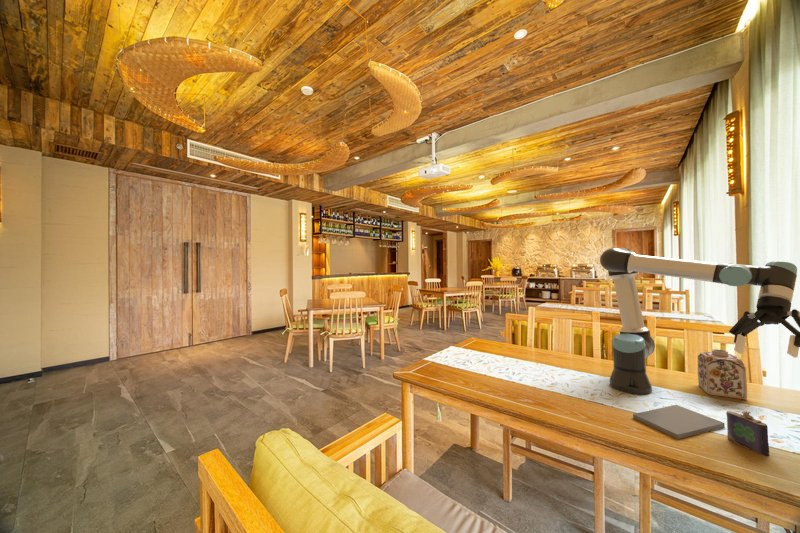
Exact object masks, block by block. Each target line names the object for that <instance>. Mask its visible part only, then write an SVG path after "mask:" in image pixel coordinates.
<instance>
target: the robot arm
mask: <svg viewBox="0 0 800 533" xmlns="http://www.w3.org/2000/svg"><path fill="white" fill-rule="evenodd" d="M599 258H600V259H599V263H600V265H601V267H602V268H603V269H605V270H606V271H608V272H607V274H608V277H609V278H610V279H613V280H612V281H613V285H614V290H615V297H616V300H617V304H618V311H619V316H620V320H621V328H620V329H619V333H618V334H616V335H614V336H613V337H612V341H611V342H612V344H611V346H612V358H613V370H612V372H611V375H610V377H609V386H611V387H612V388H614V389H615V390H618V391H621V392H624V393H628V394H635V395H649V394H652V392H653V387H652V384H651V382H650V379H649V376H648V375H647V369H646V368H647V364H646V359H647V358H648V357H650V356H651V355H652V354H654V351H655V348H656V344H655V340H654V339H653V337H652V336H651V331H650V328H648V327H647V326H645V323H644V322H645V321H644V317H643V312H642V307H641V302H640V298H639V296H640V295H639V292H638V287H637V283H636V278H635V277H637V275H638V274H639V273H645V274H649V275H650V274H651V275H659V276H663V277H664V276H665V277H672V278H679V279H680V278H681V279H686V280H687V279H688V280H693V281H694V280H695V281H701V282H702V281H703V282H708V283H709V282H710V283H715V284H721V285H727V286H730V287H742V286H745V285H749V286H757V287H760V289H759V293H758V297H757V301H756V306H755V307H756V311H755V312H749V311H748V310H746V311H744V312H743V315H742V316H741V318H740V319H738V321H737V322H736V323H734V325H733V326H732V328H730V329H729V330H728V332H729V333H730V334H732V335H733V336H734V340H733V343H734V344H735V345H734V348H733V350H734V351H735V352H737V353H738V354H739V355H740V354H741V355H743V354H744V349H745V345H746V343H747V337H746V336H748V335H749V334H750V333H752V332H753V331H754V330H756V329H758V328H759V327H763V326H764V325H779V324H782V326H784V327H785V328H786V329H787V330H788V331H790V332H791V333H792V334H790V336H789V339H788V346H787V351H786V354H788V355H789V356H791V357H793V358H798V357H799V350H800V331H799V330H798V329H797V328H796V327H795V326H793V324H791V323H790V322H788V320H787V319H788V318H790V317H791V318H793V320H794V322H795V323H796V324H797V326H798V328H799V329H800V311H799V310H797V309H796V308H794V309H792V308H791V307H792V301H793V297H794V291H795V287H796V282H797V277H798V275H797V274H798V267H797V265H795V264H794V263H792V262H789V261H785V260H777V261H769V262H767V263H766V264H765V265H764V266H761V265H759V266H758V265H751V264H750V265H749V264H739V263H732V262H731V263H725V262H722V263H719V262H718V263H717V262H708V261H702V260H701V261H700V260H691V259H680V258H671V257H661V256H652V255H643V254H637V253H636V252H635V251H633V250H631V249H629V248H626V247H625V248H624V247H612V248H609V249H606V250H604V251H603V252H602V253H601V255H600V256H599Z"/></svg>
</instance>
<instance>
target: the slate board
mask: <svg viewBox="0 0 800 533" xmlns="http://www.w3.org/2000/svg"><path fill="white" fill-rule="evenodd" d="M632 416H633V419H634V420H636V421H639V422H641V423H642V424H645V425H647V426H649V427H651V428H654V430H655V429H656V430H658V431H659V432H661V433H664V434H666V435H668V436H671V437H672V438H674V439H676V440H680V439H683V438H684V439H685V438H689V437H692V436H697V435H700V434H704V433H707V432H712V431H716V430H720V429H723V428H725V422H724V421H723V422H722V421H720V420H717V419H715V418H712V417H710V416H707V415H704V414H702V413H700V412H696V411H694V410H691V409H688V408H686V407H684V406H681V405H678V404H674V405H669V406H663V407H659V408H654V409H649V410H646V411H641V412H635V413H633V414H632Z"/></svg>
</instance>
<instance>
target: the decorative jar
mask: <svg viewBox="0 0 800 533" xmlns="http://www.w3.org/2000/svg"><path fill="white" fill-rule="evenodd" d="M697 379H698V386H699V387H701V389H702V390H703V391H704V392H705V393H706V394H707V395H709V396H710V395H711V396H718V397H723V398H724V397H725V398H731V399H737V400H744V401H747V399H748V384H747V368H746V366H745V364H744V362H743V360H742V359H741V358H740V357H739V356H737V355H733V354H731V353H729V352H728V351H727V350H725V349H716V348H715V349H714V348H713V349H712V350H711V351H704V352H700V353H699V354H698V355H697Z"/></svg>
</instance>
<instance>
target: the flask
mask: <svg viewBox="0 0 800 533" xmlns="http://www.w3.org/2000/svg"><path fill="white" fill-rule="evenodd" d="M741 413H742V414H741ZM741 413H739V412H735V411H731V410H727V411H726V413H725V414H726V423H727V424H726V425H727V426H726V427H727V429H726V430H727V439H728V440H729V441H730V442H732V443H735V444H737V445H739V446H740V447H743V448H746V449H749V450H750V451H752V452H754V453H756V454H758V455H760V456H764V457H770V446H769V432H768V430H769V429H768V424H766V423H764V422H762V421H761V420H759V419H755V418H754V417H753V416H752V415H750V414H752V413H751V412H750V411H747V410H746V411H741Z"/></svg>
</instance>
